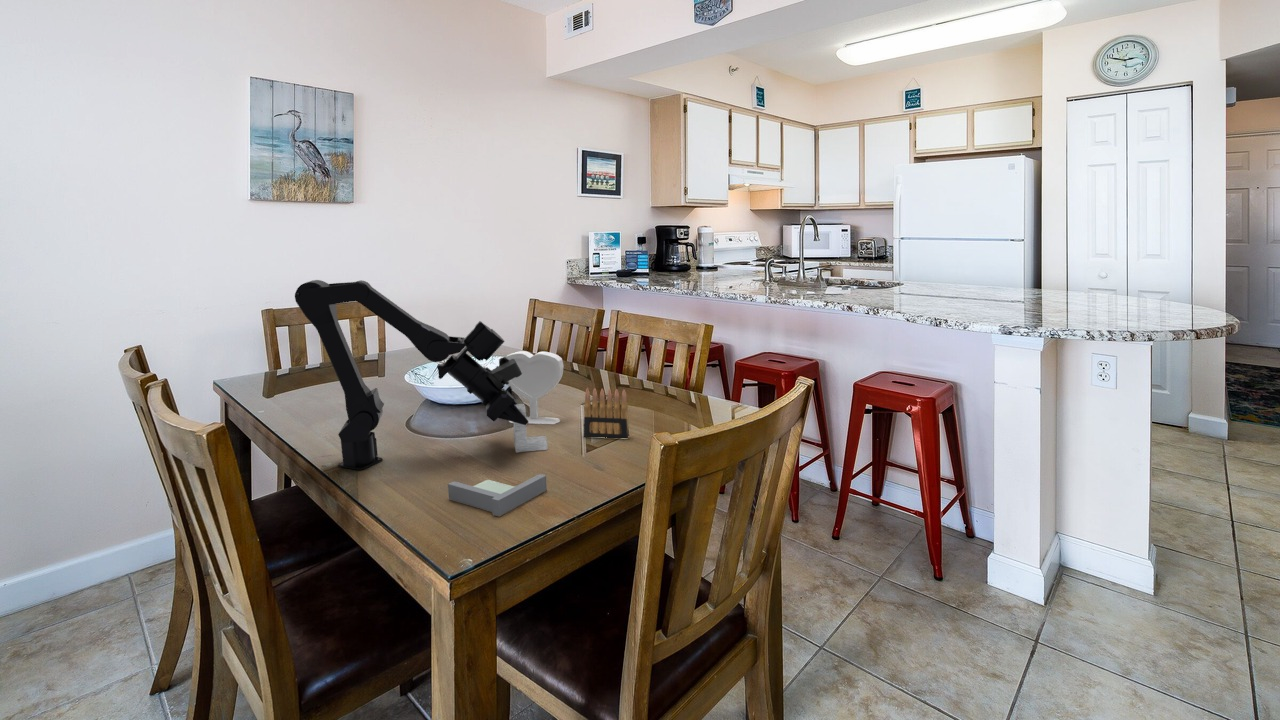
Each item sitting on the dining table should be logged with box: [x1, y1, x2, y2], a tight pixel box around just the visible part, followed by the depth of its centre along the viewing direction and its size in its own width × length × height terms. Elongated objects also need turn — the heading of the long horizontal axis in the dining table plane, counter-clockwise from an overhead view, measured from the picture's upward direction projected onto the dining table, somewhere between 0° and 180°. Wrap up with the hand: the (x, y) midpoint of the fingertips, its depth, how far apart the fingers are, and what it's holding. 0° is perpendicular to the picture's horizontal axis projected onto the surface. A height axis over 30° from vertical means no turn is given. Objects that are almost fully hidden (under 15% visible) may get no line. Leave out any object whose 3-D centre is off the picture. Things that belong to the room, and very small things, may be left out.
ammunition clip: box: [583, 387, 630, 439], centre depth 149 cm, size 11×2×12 cm, turn 81°
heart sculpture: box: [505, 350, 565, 425], centre depth 162 cm, size 16×5×18 cm, turn 83°
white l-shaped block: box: [512, 403, 548, 454], centre depth 142 cm, size 7×4×10 cm, turn 105°
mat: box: [472, 479, 515, 494], centre depth 119 cm, size 10×7×1 cm
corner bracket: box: [447, 473, 548, 517], centre depth 117 cm, size 13×13×3 cm
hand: (526, 420), depth 142 cm, fingers closed on white l-shaped block, 4 cm apart
